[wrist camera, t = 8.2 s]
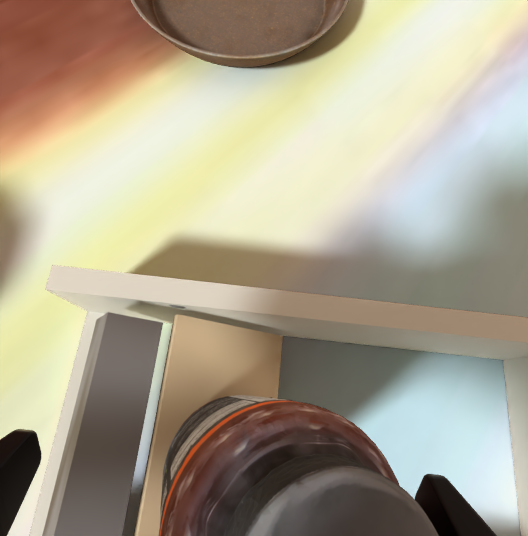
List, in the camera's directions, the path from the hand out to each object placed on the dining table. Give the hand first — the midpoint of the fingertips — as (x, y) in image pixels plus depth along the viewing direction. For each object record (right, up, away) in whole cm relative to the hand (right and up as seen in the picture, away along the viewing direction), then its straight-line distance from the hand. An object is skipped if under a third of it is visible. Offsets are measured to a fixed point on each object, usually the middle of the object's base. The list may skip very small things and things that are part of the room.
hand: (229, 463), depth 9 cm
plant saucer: (-1, +27, +23) cm, 36 cm away
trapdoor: (-4, -4, +10) cm, 12 cm away
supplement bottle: (-1, -4, +8) cm, 9 cm away
